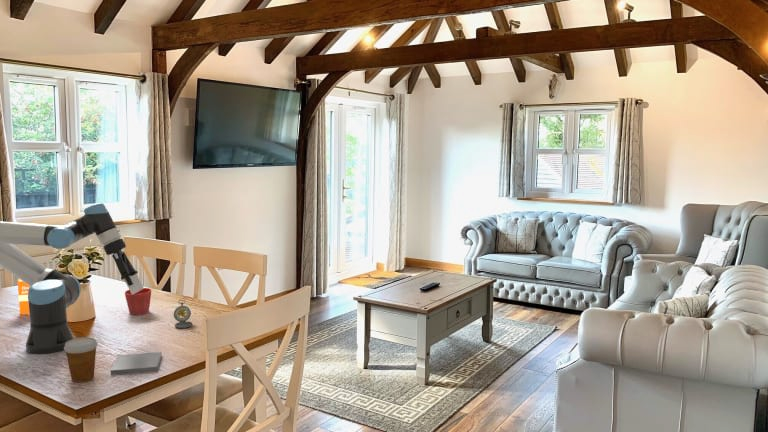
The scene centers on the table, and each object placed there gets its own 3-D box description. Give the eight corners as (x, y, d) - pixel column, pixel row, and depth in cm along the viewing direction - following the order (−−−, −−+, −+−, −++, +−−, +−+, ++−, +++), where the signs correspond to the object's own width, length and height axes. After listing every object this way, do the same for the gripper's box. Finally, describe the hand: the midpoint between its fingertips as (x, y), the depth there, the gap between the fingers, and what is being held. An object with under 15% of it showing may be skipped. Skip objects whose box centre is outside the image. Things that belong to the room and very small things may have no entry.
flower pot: (119, 314, 259) (118, 292, 257) (139, 307, 269) (138, 286, 268) (139, 317, 255) (138, 295, 254) (157, 310, 265) (156, 289, 264)
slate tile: (110, 374, 194) (110, 370, 194) (118, 359, 207) (118, 355, 207) (157, 371, 197) (156, 366, 197) (161, 355, 211) (161, 351, 211)
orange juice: (44, 308, 268) (41, 263, 265) (40, 313, 259) (36, 267, 257) (24, 309, 265) (21, 264, 263) (19, 315, 257) (16, 269, 254)
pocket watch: (182, 329, 239) (181, 305, 238) (168, 326, 243) (167, 302, 242) (198, 324, 246) (198, 300, 245) (184, 321, 250) (184, 297, 249)
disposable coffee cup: (58, 381, 188) (56, 344, 187) (83, 370, 197) (81, 335, 195) (81, 386, 185) (79, 348, 183) (106, 375, 194) (104, 339, 192)
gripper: (116, 237, 219) (143, 289, 220) (126, 237, 243) (151, 284, 244) (95, 246, 217) (123, 299, 218) (108, 246, 241) (133, 293, 242)
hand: (138, 291), depth 231 cm, fingers open, 13 cm apart
